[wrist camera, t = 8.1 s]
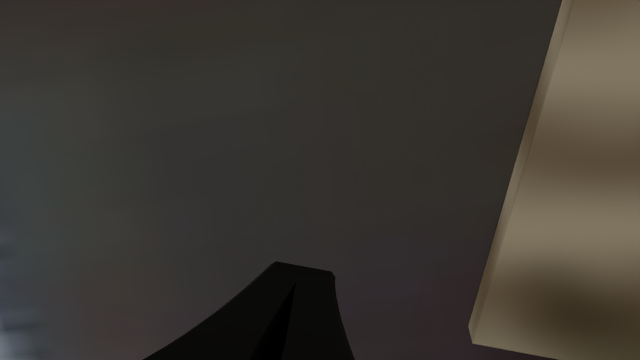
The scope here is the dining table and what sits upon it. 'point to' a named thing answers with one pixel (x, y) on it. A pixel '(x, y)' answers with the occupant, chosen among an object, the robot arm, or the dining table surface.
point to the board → (573, 200)
